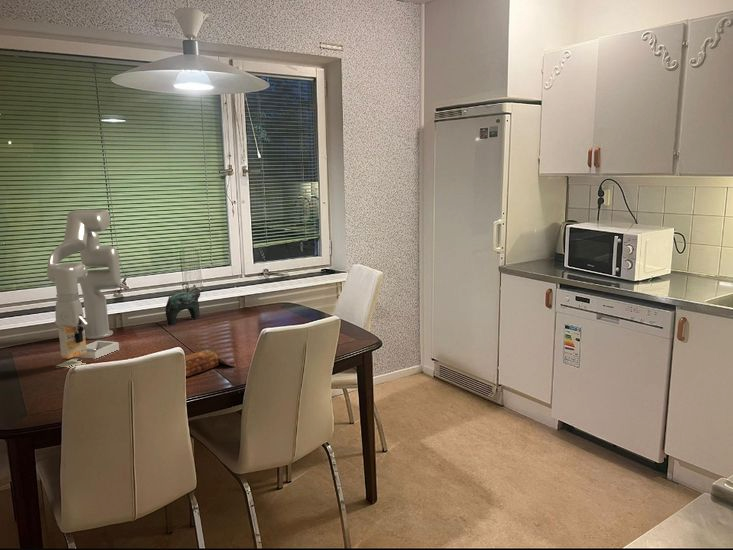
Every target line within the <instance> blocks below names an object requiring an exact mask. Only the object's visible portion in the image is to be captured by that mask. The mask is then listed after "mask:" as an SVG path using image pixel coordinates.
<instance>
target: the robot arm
mask: <svg viewBox="0 0 733 550" xmlns="http://www.w3.org/2000/svg"><path fill="white" fill-rule="evenodd" d="M110 224H111V215H110V213H109V212H108V211H107V210H106V209H76V210H71V211H68V213H67V215H66V224H65V231H64V238H63V242H62V243H60V244H59V245H58V246H57V247H55V249H54V250H53V251H52V252H51V253H50V254H49V257H48V261H47V267H46V275H47V280H49V282H52V283H55V288H56V296H55V297H56V298H57V300H56V302H55V309H54V310H55V312H54V313H55V321H54V325H56V327H58V326H69V327H74V329H75V331H76V333H75V340H76V343H79V342H82V341H83V334H82V332H83V331H84V329H85V340H86V339H87V340H88V339H89V340H96V339H97V340H98V339H104V338H108V337H111V336H112V335H113V334H114V331H113V330H111V329H110V326H109V314H108V307H107V298H106V296H105V295H104V293H103V292H102V291H103V290H117V289H118V288H120V286H121V285H122V284H121V283H122V280H121V279H122V277H121V268H120V258H119V257H120V256H119V252H118V249H117V248H116V247H114V246H112V245H101V244H100V242H101V241H100V235H99V234H98V233H99V232H100V233H102V232H104V231H105V230H106V229H108V228H109V226H110ZM77 253H80V255H79V257H80V261H81V262H65V263H64V262H63V263H60V262H62V260H64V259H65V258H67V257H69V256H72V255H74V254H77ZM96 267H98V268H99V267H107V268H104V269H103V268H102V269H100V268H99V269H88V268H96ZM78 283H79V286H80V288H81V292H82V298H83V307H84V310H83V307H82V302H81V300H80V295H79V286H78ZM81 324H82V325H81ZM78 327H79V329H78Z"/></svg>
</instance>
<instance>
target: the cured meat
mask: <svg viewBox="0 0 733 550" xmlns="http://www.w3.org/2000/svg"><path fill="white" fill-rule="evenodd" d="M184 356H185V358H186V372H187V377H189V376H190V377H191V376H193V375H197V374H200V373H202V372H206V371H207V370H209V369H213V368H216V367H218V366H219V365H220V364H222V365H226V366H230V367H237V365H236V363H235V361H234V362H233V361H232V362H228V361H227V360H226V359H221V358H219V357H218V355H217V353H216V352H215V351H213V350H210V349H207V350H203V351H198V352H195V353H191V354H188V355H184ZM187 377H186V378H187Z"/></svg>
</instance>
